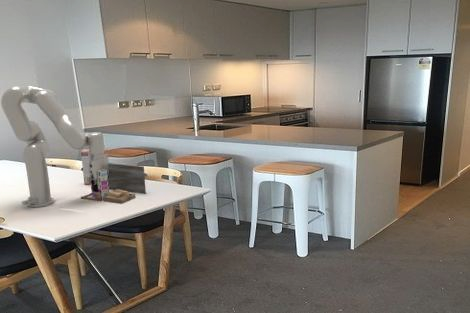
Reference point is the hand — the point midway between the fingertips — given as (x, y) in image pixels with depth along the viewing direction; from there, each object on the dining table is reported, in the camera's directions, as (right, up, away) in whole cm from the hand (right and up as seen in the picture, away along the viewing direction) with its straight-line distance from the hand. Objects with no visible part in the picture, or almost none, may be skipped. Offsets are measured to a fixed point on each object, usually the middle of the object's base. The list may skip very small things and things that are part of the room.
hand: (100, 189), depth 212 cm
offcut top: (+11, -3, -4) cm, 12 cm away
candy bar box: (0, -5, +1) cm, 5 cm away
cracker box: (-12, +1, +31) cm, 34 cm away
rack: (+7, -5, +2) cm, 8 cm away
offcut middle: (+11, -5, -4) cm, 12 cm away
